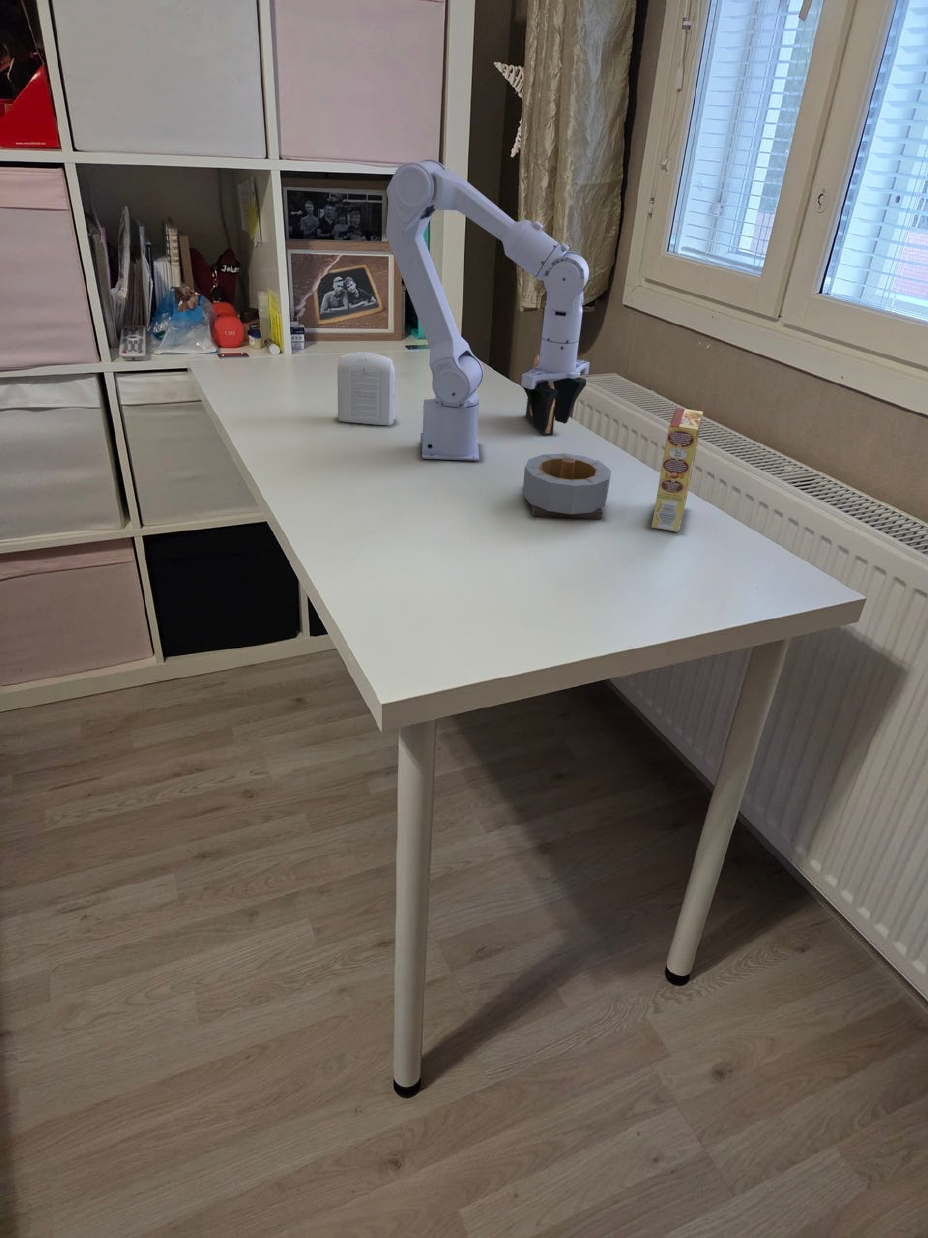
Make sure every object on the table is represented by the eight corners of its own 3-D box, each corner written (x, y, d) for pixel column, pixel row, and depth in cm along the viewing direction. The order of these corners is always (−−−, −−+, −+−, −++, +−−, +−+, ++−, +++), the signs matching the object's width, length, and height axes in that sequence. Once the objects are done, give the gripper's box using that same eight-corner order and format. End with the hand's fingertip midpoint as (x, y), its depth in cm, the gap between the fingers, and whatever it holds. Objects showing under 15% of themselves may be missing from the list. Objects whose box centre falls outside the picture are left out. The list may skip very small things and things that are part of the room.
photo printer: (395, 419, 157) (396, 351, 150) (392, 427, 153) (393, 358, 147) (340, 415, 157) (338, 347, 151) (336, 423, 153) (334, 353, 147)
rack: (533, 516, 123) (538, 471, 119) (527, 489, 132) (531, 446, 128) (601, 519, 124) (608, 474, 120) (590, 492, 132) (596, 449, 128)
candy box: (679, 533, 121) (700, 429, 113) (649, 528, 122) (668, 424, 114) (684, 510, 128) (705, 410, 120) (656, 505, 129) (674, 406, 121)
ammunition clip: (552, 434, 154) (560, 368, 148) (543, 435, 154) (550, 368, 147) (534, 416, 163) (540, 352, 157) (525, 416, 162) (531, 352, 156)
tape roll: (525, 512, 121) (528, 483, 119) (518, 478, 132) (521, 451, 130) (614, 515, 122) (618, 487, 120) (600, 481, 133) (603, 454, 131)
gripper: (550, 351, 123) (541, 441, 130) (609, 337, 132) (597, 422, 139) (514, 341, 127) (506, 428, 134) (573, 328, 136) (563, 411, 143)
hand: (550, 424), depth 137 cm, fingers open, 5 cm apart
